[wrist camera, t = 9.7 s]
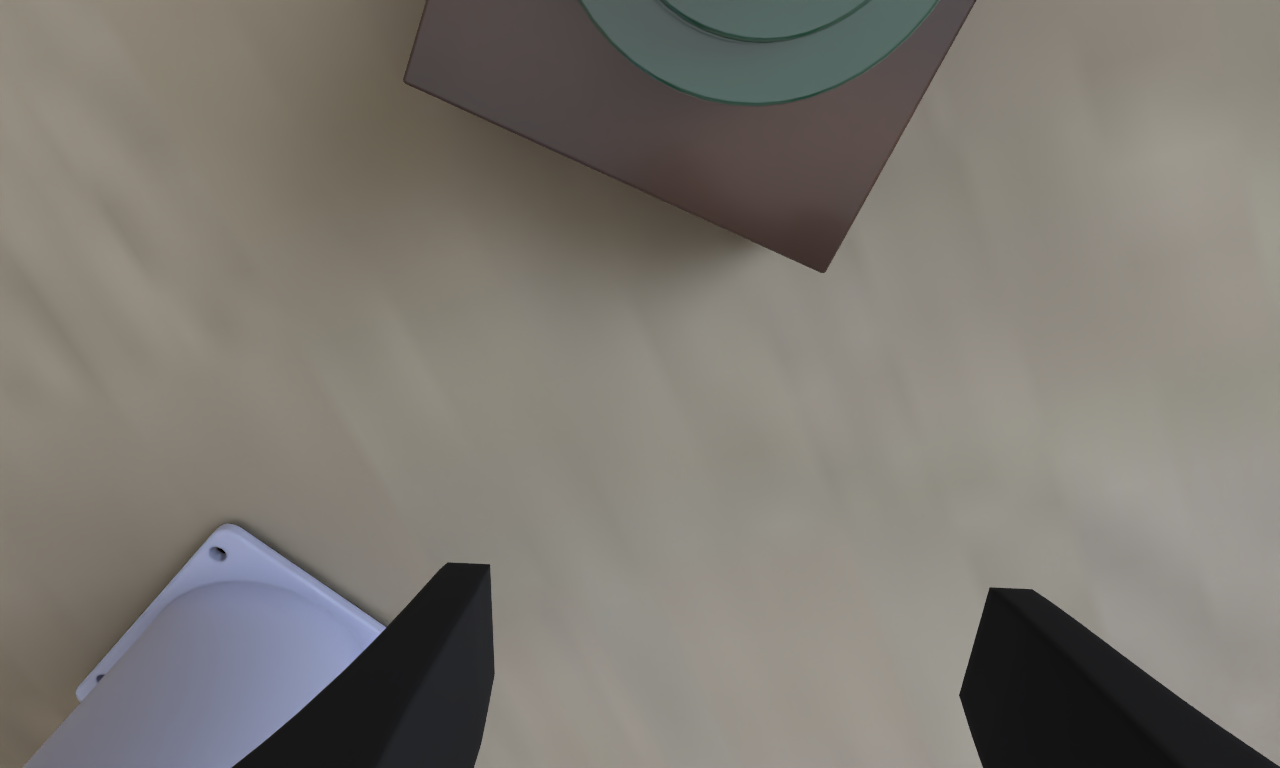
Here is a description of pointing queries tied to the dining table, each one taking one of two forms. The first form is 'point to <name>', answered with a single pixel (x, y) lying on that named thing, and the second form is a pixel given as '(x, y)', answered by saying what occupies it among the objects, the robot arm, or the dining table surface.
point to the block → (681, 118)
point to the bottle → (756, 43)
